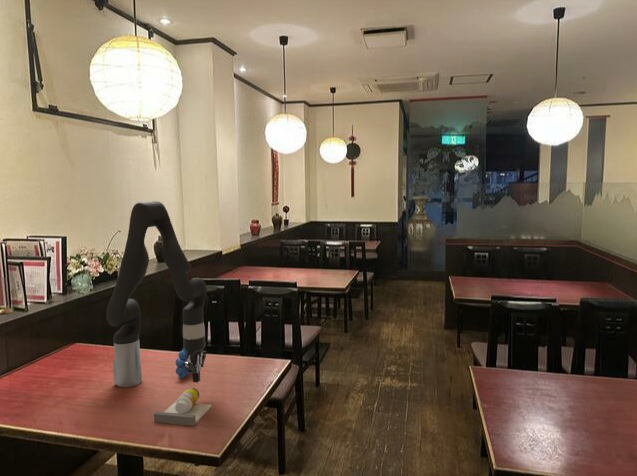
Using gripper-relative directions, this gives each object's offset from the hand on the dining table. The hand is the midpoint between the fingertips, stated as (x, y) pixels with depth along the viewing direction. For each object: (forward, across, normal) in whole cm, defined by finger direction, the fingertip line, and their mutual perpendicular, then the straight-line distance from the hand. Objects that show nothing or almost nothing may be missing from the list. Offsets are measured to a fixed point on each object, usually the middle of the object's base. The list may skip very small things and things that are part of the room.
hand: (196, 381), depth 161 cm
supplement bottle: (+4, +2, 0) cm, 4 cm away
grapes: (+7, -18, -16) cm, 25 cm away
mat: (+7, +9, 0) cm, 12 cm away
